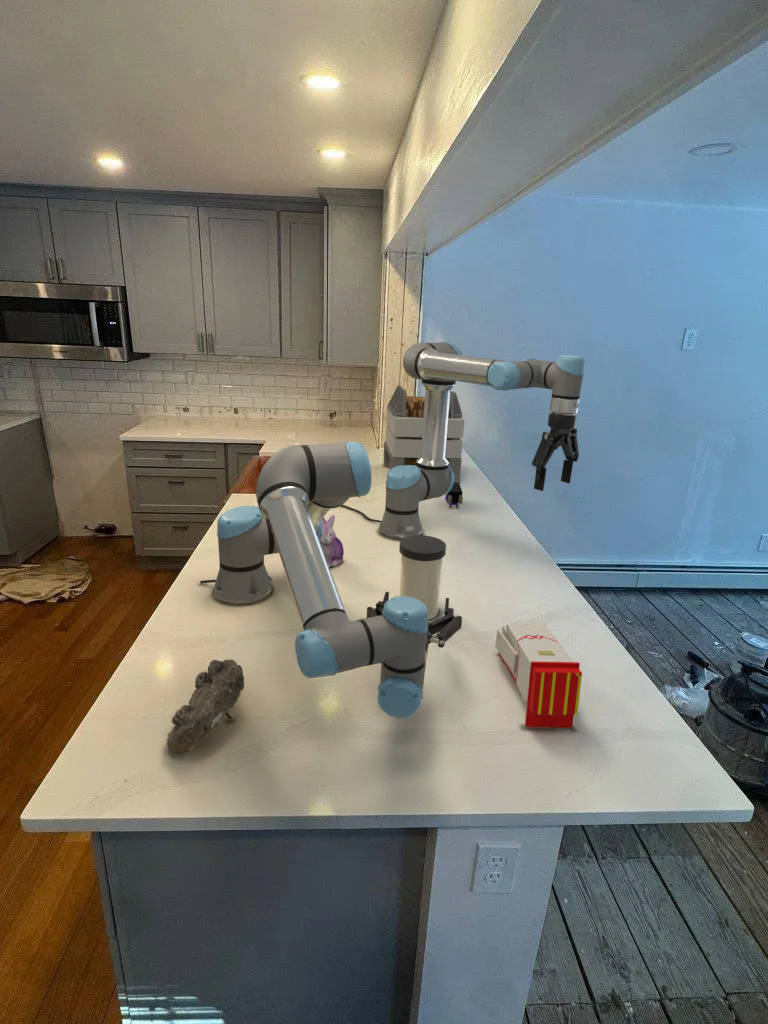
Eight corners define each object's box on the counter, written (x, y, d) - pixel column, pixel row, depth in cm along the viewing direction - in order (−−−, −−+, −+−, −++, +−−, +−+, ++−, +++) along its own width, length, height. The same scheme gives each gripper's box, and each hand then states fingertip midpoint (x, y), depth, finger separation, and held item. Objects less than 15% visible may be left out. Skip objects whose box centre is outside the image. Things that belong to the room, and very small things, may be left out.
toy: (542, 608, 134) (591, 669, 104) (537, 660, 136) (583, 734, 107) (491, 607, 133) (526, 668, 104) (487, 660, 136) (520, 733, 107)
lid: (413, 539, 152) (414, 531, 151) (453, 550, 146) (453, 542, 145) (390, 553, 142) (391, 545, 141) (431, 565, 136) (432, 557, 136)
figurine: (321, 571, 169) (321, 524, 164) (309, 557, 177) (309, 512, 172) (350, 565, 173) (351, 520, 168) (337, 553, 182) (338, 509, 177)
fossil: (192, 660, 117) (244, 628, 112) (224, 691, 120) (276, 661, 115) (142, 746, 98) (202, 712, 93) (182, 779, 101) (242, 748, 96)
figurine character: (463, 512, 227) (458, 497, 241) (465, 495, 224) (459, 480, 237) (446, 512, 227) (442, 496, 241) (448, 495, 224) (444, 480, 237)
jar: (410, 597, 156) (415, 534, 150) (444, 608, 151) (450, 544, 145) (391, 612, 148) (394, 546, 142) (426, 625, 143) (431, 557, 137)
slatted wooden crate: (382, 463, 289) (386, 382, 275) (445, 464, 293) (451, 384, 279) (390, 482, 257) (394, 392, 243) (460, 483, 261) (468, 394, 247)
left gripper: (343, 661, 111) (362, 609, 131) (471, 676, 108) (471, 620, 128) (343, 628, 108) (362, 580, 128) (475, 642, 105) (474, 590, 125)
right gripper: (548, 419, 148) (537, 496, 155) (598, 411, 163) (586, 482, 171) (525, 414, 153) (515, 489, 160) (575, 407, 169) (564, 476, 176)
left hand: (416, 600), depth 128 cm, fingers open, 13 cm apart
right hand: (552, 485), depth 166 cm, fingers open, 13 cm apart
